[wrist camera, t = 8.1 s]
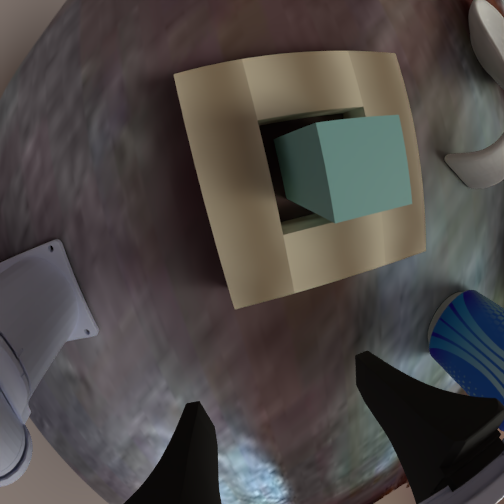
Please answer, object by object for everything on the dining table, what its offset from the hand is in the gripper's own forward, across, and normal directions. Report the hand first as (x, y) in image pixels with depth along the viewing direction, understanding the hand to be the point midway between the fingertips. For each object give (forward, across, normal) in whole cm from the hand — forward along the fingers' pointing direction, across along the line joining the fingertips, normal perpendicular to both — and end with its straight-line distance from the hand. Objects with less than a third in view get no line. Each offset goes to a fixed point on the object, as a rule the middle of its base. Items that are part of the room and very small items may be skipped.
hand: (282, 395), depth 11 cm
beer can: (+10, -20, +10) cm, 24 cm away
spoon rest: (+10, -28, -14) cm, 33 cm away
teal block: (+10, -6, -8) cm, 14 cm away
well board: (+10, -6, -8) cm, 14 cm away
